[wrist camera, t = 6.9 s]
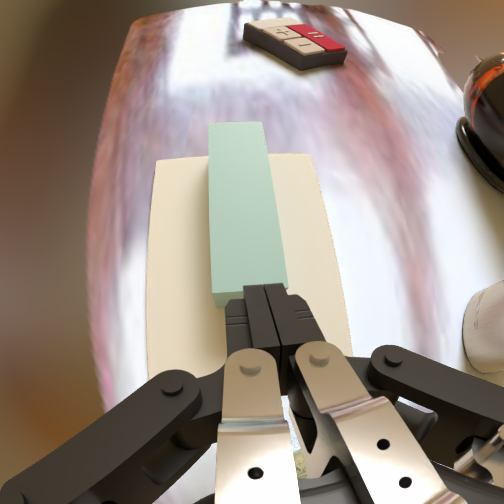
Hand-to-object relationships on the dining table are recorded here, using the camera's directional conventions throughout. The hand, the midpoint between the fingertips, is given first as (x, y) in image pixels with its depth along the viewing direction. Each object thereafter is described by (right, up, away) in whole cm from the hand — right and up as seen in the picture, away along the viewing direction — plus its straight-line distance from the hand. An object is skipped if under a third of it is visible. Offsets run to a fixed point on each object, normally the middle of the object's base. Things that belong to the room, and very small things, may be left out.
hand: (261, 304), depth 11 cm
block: (-1, -1, +7) cm, 7 cm away
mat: (-1, +2, +12) cm, 12 cm away
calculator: (+7, +37, +28) cm, 47 cm away
